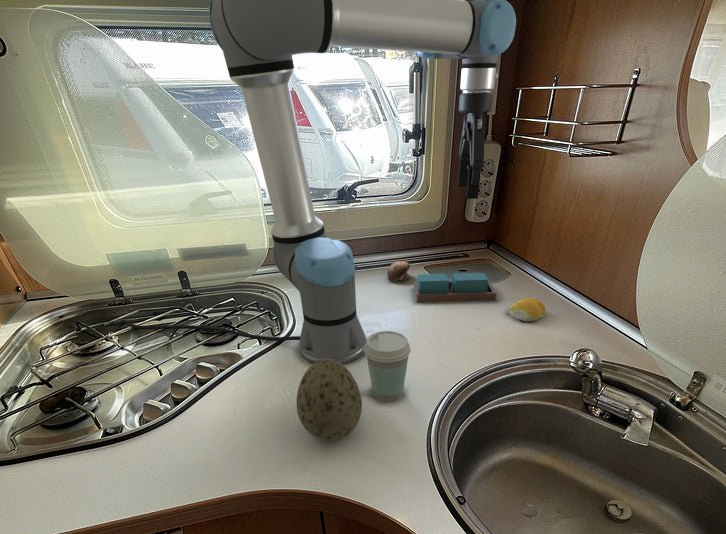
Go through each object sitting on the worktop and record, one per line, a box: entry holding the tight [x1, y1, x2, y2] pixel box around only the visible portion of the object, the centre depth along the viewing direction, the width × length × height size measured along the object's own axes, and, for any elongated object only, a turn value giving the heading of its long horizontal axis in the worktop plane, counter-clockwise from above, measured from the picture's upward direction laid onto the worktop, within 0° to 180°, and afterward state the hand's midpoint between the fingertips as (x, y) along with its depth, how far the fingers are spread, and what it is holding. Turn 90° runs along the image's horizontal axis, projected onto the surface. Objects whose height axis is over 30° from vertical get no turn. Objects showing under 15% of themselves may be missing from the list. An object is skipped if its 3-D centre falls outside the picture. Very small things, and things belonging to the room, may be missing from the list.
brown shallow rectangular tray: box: [413, 279, 497, 303], centre depth 119 cm, size 22×10×2 cm, turn 91°
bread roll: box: [508, 297, 547, 322], centre depth 108 cm, size 8×9×4 cm
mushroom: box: [386, 260, 411, 283], centre depth 128 cm, size 8×8×6 cm
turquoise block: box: [417, 273, 450, 294], centre depth 118 cm, size 8×5×5 cm, turn 91°
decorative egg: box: [295, 358, 363, 442], centre depth 70 cm, size 11×11×15 cm
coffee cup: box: [363, 330, 411, 403], centre depth 79 cm, size 8×8×12 cm
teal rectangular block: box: [451, 272, 489, 293], centre depth 118 cm, size 9×5×5 cm, turn 92°
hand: (467, 192), depth 108 cm, fingers open, 13 cm apart
